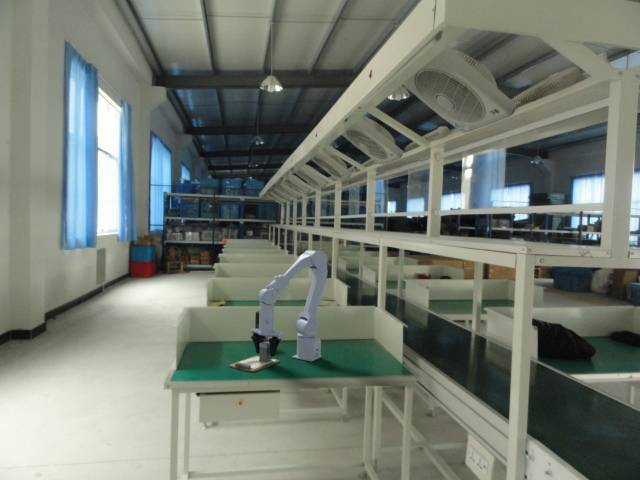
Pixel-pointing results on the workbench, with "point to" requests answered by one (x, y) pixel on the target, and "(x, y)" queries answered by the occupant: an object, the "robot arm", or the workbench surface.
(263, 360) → the block
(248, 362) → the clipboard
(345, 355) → the workbench surface
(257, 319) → the deodorant
